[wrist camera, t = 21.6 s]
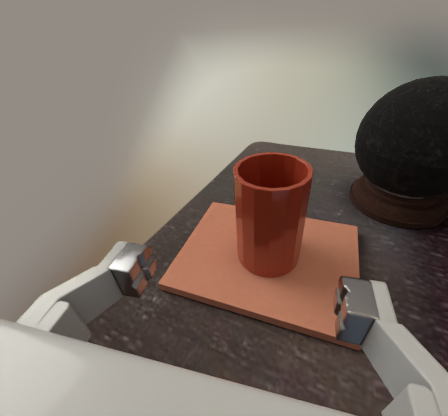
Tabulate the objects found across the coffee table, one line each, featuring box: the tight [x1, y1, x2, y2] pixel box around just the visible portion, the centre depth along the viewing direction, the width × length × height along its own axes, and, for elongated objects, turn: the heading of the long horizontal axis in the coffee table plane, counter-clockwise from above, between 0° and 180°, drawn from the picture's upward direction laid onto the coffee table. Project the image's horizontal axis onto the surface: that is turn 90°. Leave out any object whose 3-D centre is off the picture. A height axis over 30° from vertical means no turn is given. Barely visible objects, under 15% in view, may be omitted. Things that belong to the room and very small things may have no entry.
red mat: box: [158, 202, 361, 351], centre depth 27 cm, size 18×14×1 cm
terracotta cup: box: [233, 152, 313, 277], centre depth 24 cm, size 6×6×10 cm
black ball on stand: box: [349, 76, 448, 229], centre depth 30 cm, size 13×13×15 cm
